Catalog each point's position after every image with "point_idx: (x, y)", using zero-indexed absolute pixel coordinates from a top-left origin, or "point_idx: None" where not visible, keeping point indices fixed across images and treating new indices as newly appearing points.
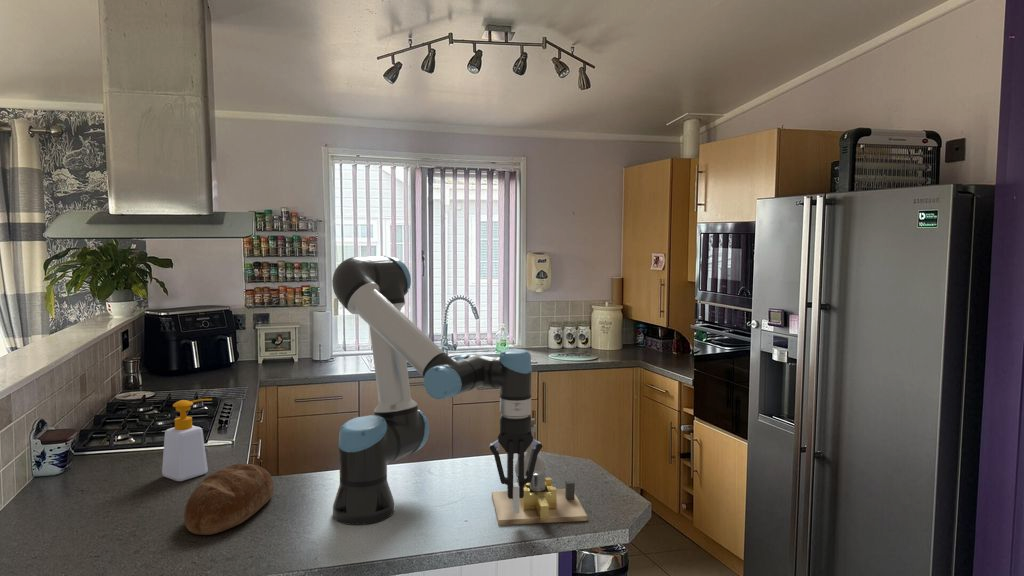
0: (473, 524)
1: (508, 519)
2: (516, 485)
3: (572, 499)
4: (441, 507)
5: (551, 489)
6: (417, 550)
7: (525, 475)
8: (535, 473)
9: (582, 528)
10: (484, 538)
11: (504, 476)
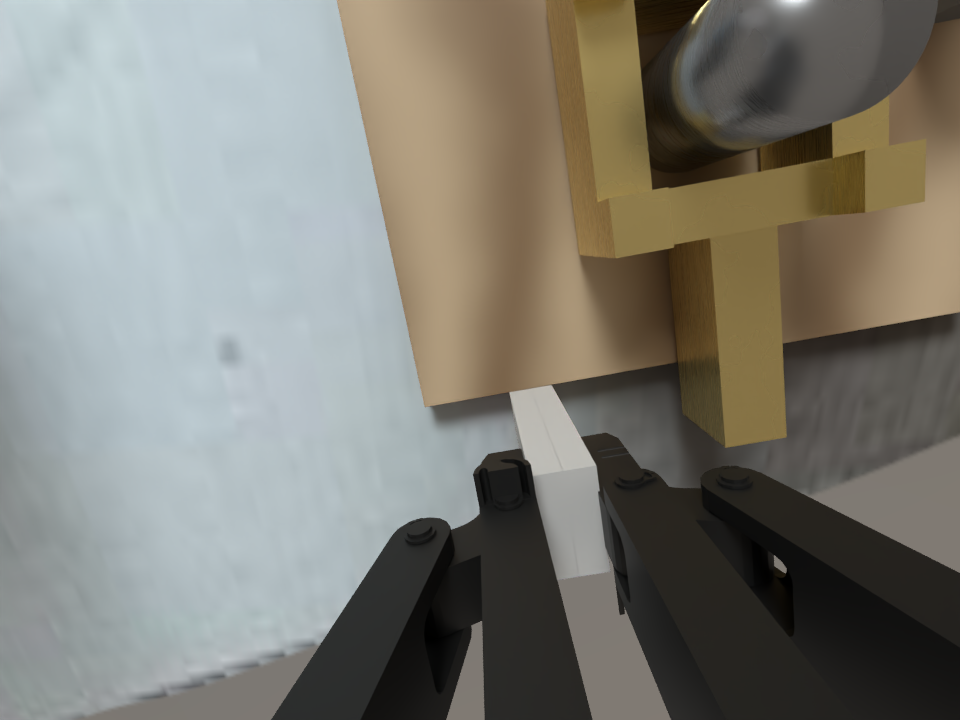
0: (284, 399)
1: (485, 395)
2: (580, 544)
3: (954, 19)
4: (9, 158)
5: (876, 203)
6: (84, 681)
7: (717, 495)
8: (811, 4)
9: (898, 406)
10: (373, 552)
11: (454, 686)
